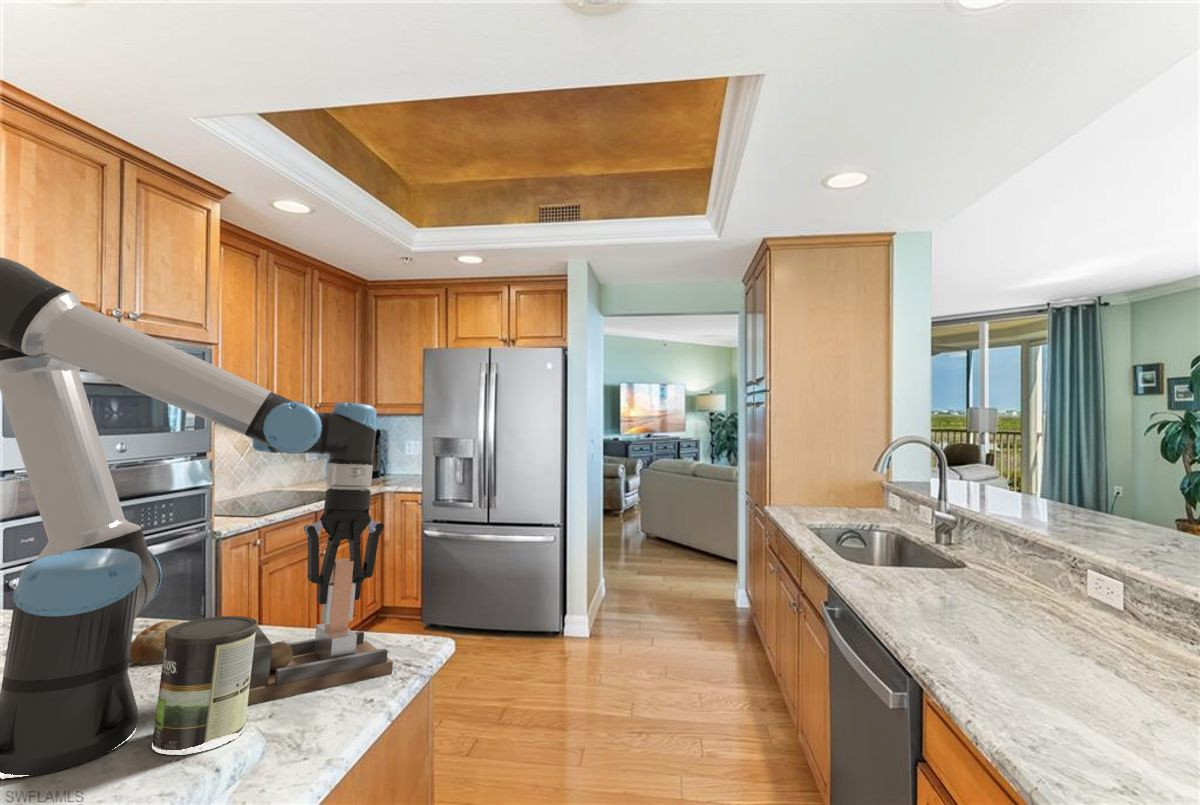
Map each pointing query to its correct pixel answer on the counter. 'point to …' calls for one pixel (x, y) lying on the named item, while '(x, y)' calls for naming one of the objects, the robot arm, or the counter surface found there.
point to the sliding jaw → (338, 616)
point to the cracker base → (308, 667)
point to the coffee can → (204, 681)
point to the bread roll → (151, 644)
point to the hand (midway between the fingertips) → (336, 620)
